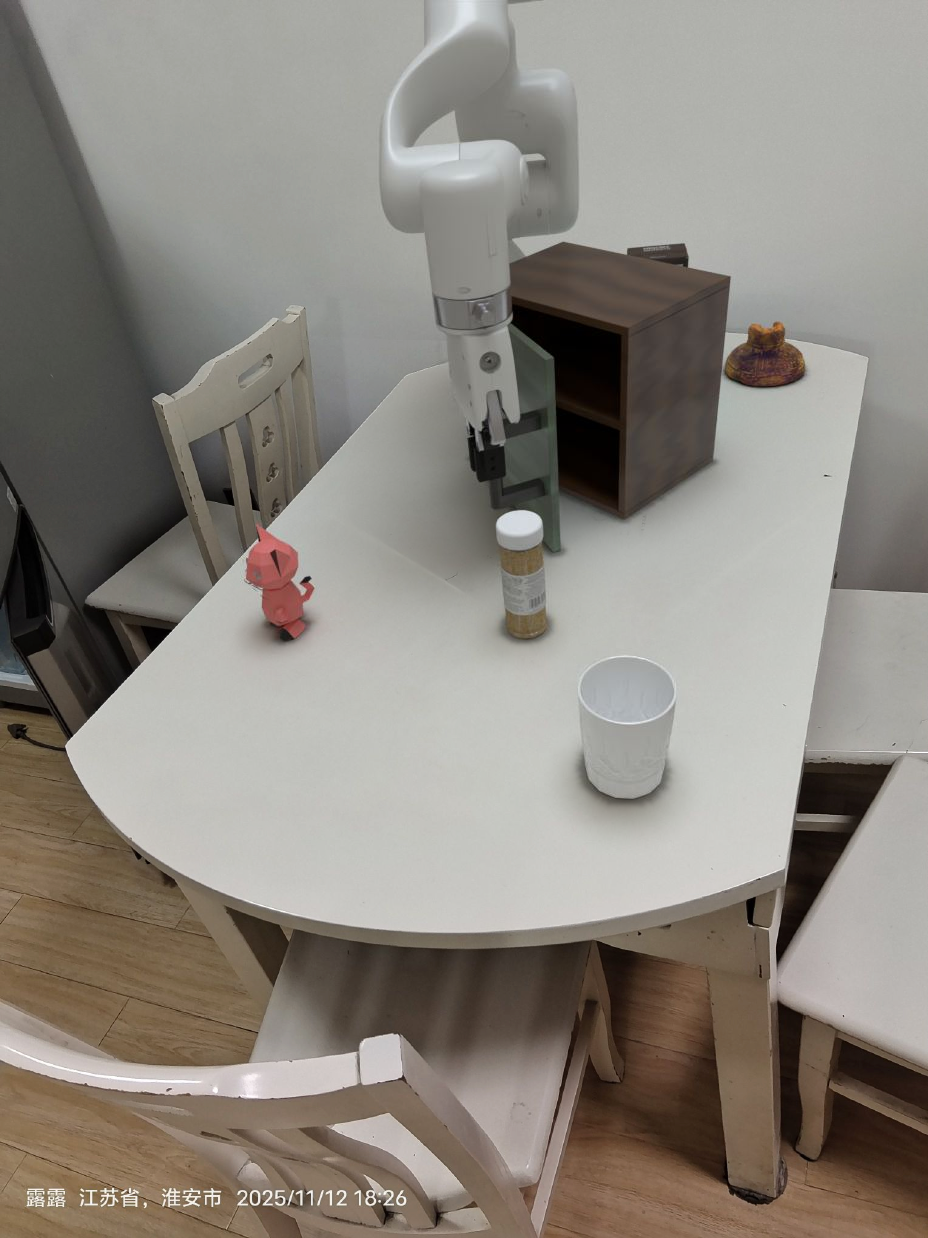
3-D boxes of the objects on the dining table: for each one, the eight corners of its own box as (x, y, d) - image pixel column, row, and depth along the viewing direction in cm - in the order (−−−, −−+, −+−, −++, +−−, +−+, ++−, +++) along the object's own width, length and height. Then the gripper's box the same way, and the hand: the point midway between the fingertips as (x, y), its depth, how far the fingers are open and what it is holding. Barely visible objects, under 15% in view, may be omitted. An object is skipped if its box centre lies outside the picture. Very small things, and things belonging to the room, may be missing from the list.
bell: (717, 384, 129) (722, 337, 125) (732, 352, 138) (736, 307, 133) (799, 391, 125) (806, 342, 120) (808, 357, 133) (816, 311, 129)
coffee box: (680, 343, 142) (686, 241, 132) (684, 359, 137) (690, 255, 127) (624, 346, 144) (626, 246, 133) (626, 362, 139) (628, 259, 128)
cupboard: (624, 520, 104) (628, 327, 89) (480, 455, 120) (462, 282, 105) (713, 461, 113) (731, 275, 97) (567, 407, 129) (563, 241, 113)
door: (504, 568, 99) (486, 374, 84) (430, 469, 118) (406, 297, 103) (560, 550, 101) (554, 357, 86) (479, 455, 120) (462, 284, 105)
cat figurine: (252, 620, 97) (222, 532, 89) (307, 596, 99) (283, 509, 91) (274, 654, 92) (244, 564, 84) (332, 628, 94) (308, 539, 86)
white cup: (571, 741, 78) (569, 661, 72) (657, 730, 78) (662, 649, 72) (588, 811, 72) (587, 730, 66) (681, 799, 72) (689, 717, 66)
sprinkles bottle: (534, 607, 93) (528, 503, 85) (556, 630, 90) (551, 524, 81) (497, 622, 92) (487, 517, 83) (518, 646, 89) (509, 540, 80)
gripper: (536, 325, 77) (544, 500, 88) (486, 275, 89) (499, 435, 100) (456, 341, 76) (475, 517, 87) (416, 288, 88) (438, 449, 99)
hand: (488, 472), depth 94 cm, fingers closed on door
